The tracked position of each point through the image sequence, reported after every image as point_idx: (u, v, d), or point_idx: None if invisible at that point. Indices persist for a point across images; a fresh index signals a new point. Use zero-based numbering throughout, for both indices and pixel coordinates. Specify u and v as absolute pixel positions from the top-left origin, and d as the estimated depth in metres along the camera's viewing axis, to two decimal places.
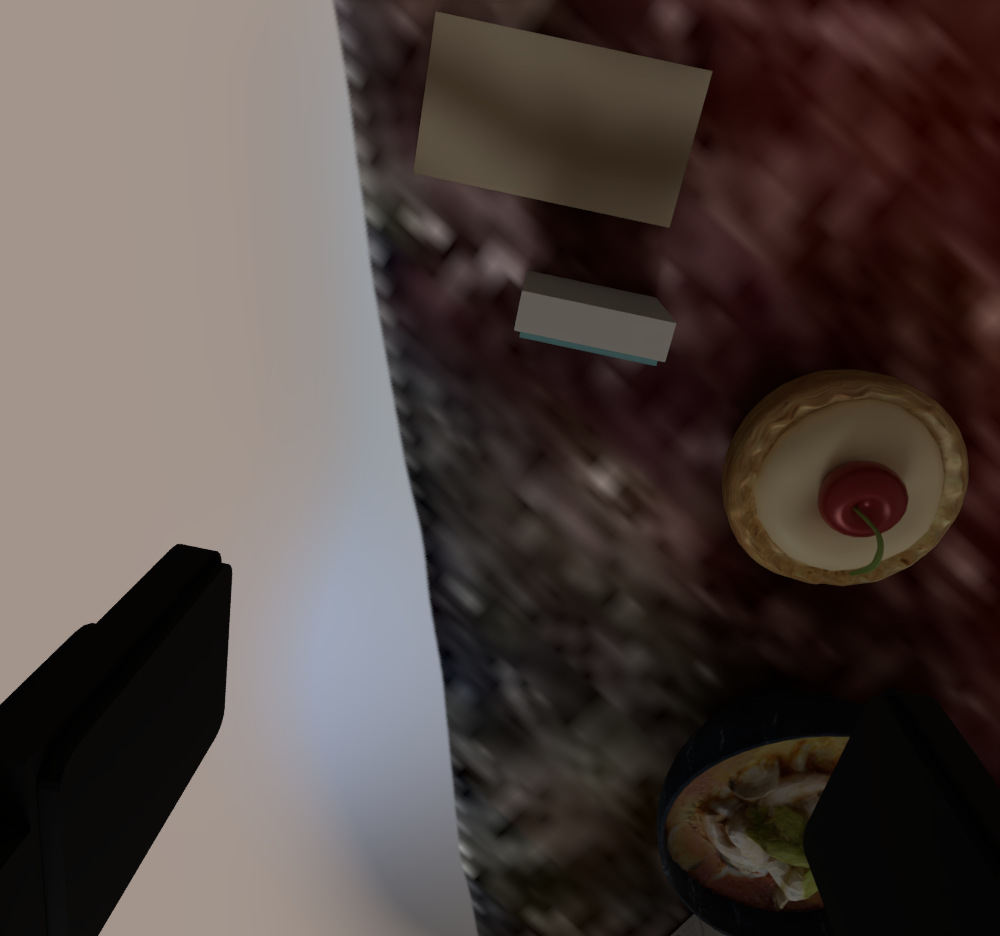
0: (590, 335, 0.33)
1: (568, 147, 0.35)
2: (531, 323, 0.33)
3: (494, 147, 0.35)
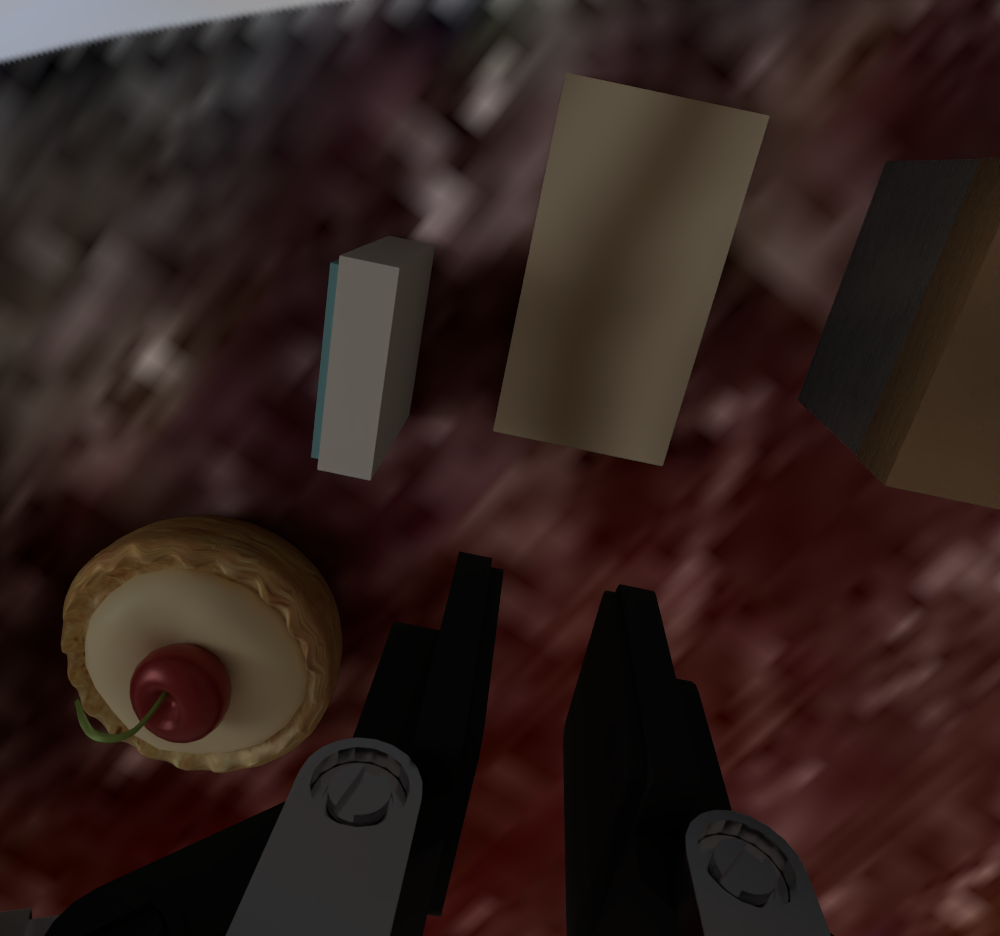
0: (343, 369, 0.23)
1: (590, 303, 0.27)
2: (352, 282, 0.22)
3: (594, 201, 0.26)
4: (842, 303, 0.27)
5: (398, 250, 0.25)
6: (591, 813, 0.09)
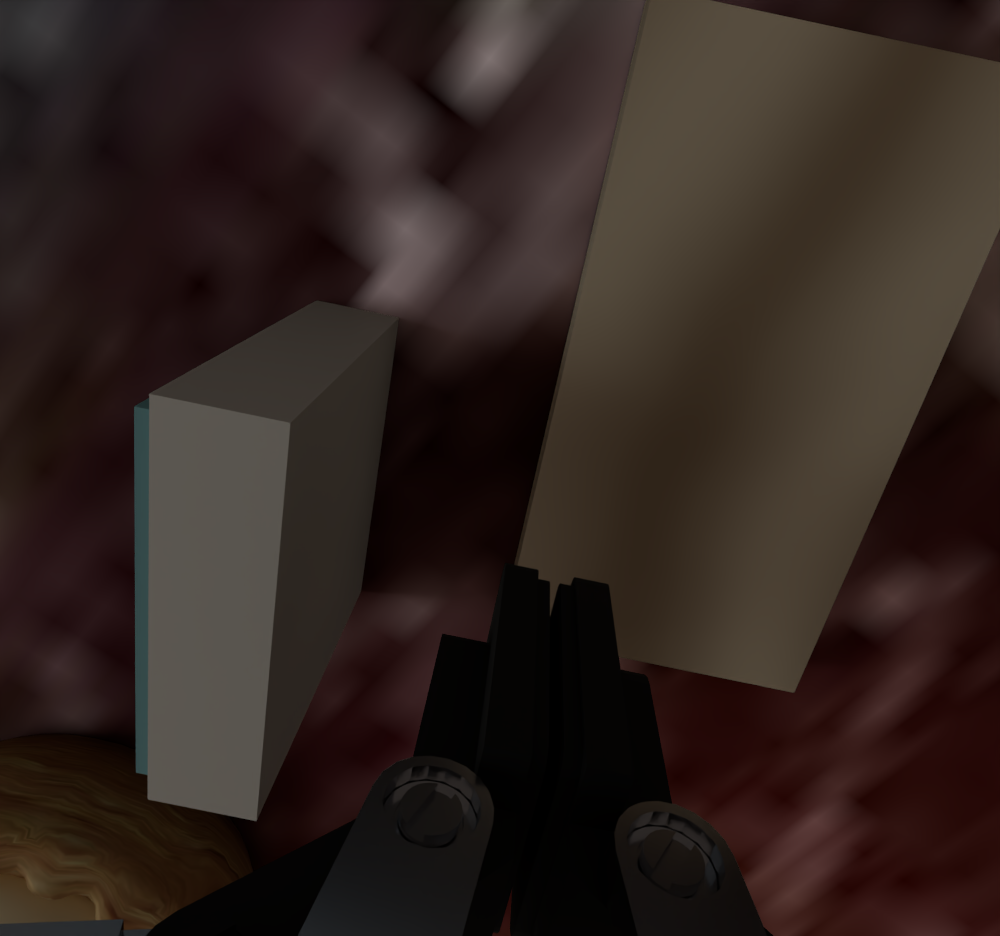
0: (181, 625, 0.10)
1: (681, 428, 0.15)
2: (184, 453, 0.09)
3: (699, 244, 0.13)
4: None
5: (317, 346, 0.12)
6: None
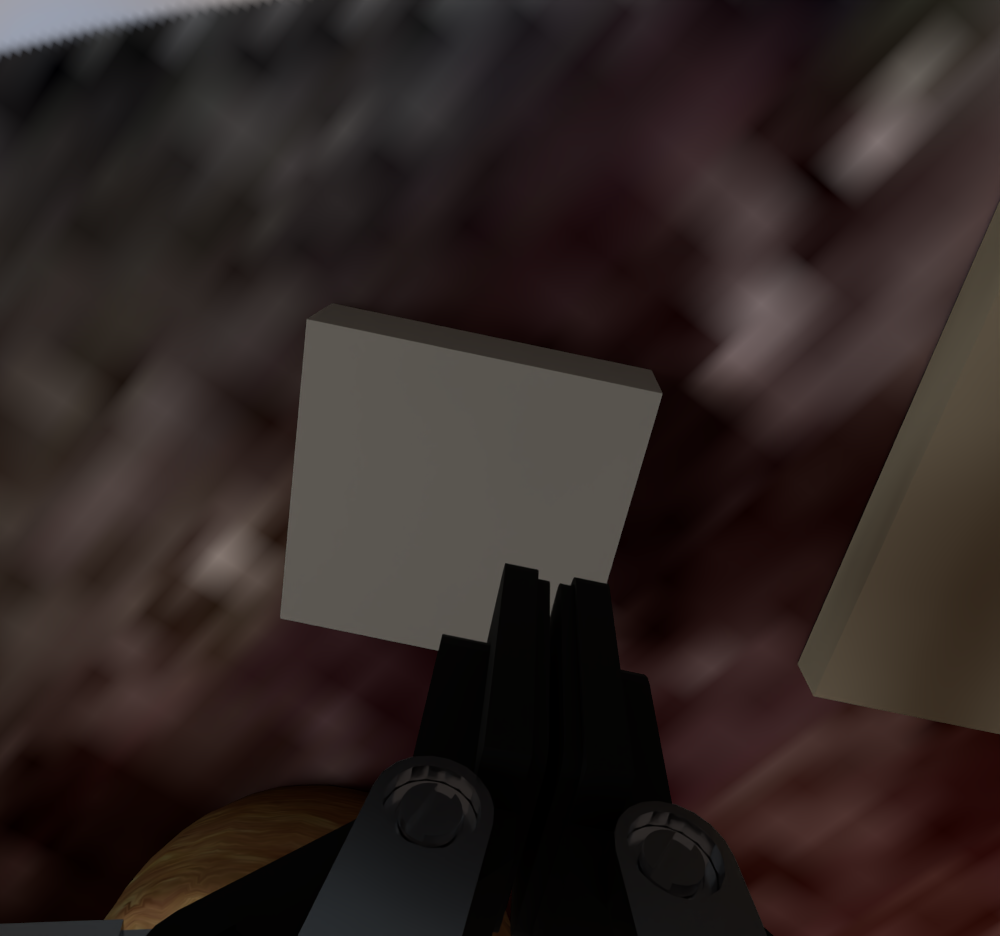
0: None
1: None
2: None
3: None
4: None
5: (490, 348, 0.15)
6: None
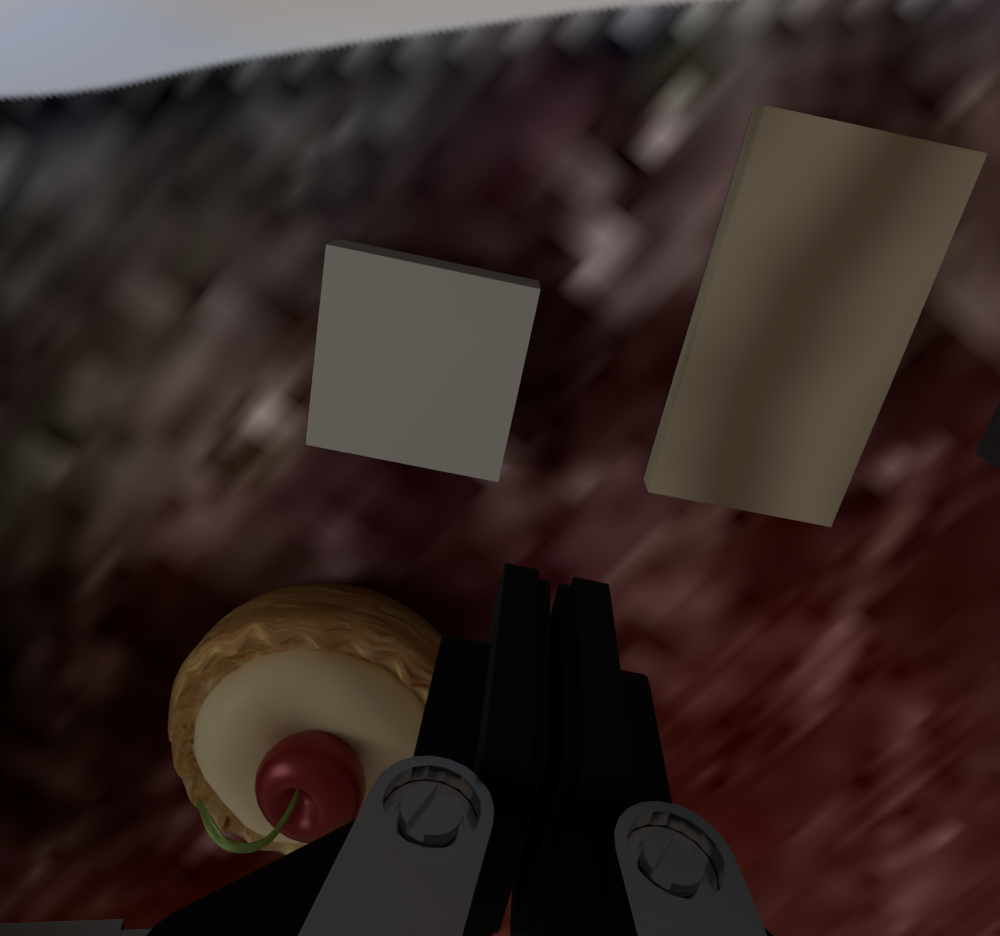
0: None
1: (768, 355, 0.25)
2: None
3: (784, 245, 0.23)
4: None
5: (438, 264, 0.24)
6: None
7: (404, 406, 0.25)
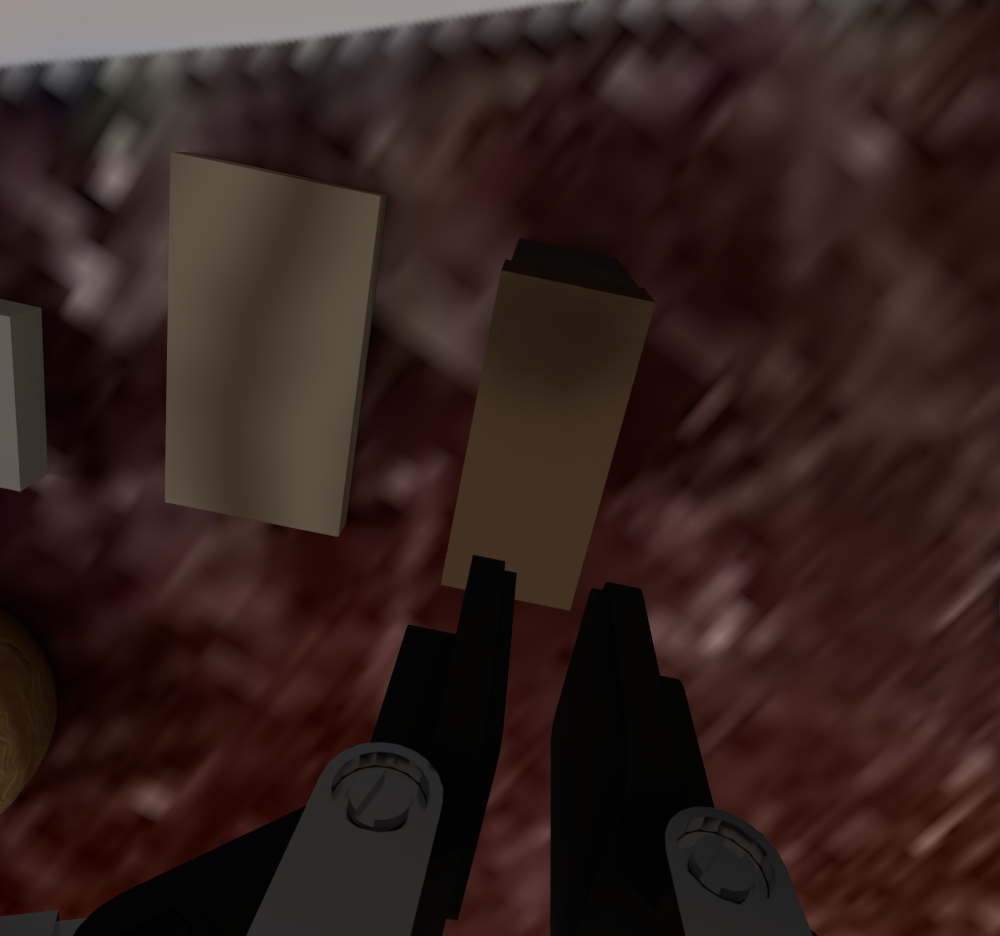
0: None
1: (237, 377, 0.27)
2: None
3: (223, 278, 0.25)
4: None
5: None
6: (575, 810, 0.09)
7: None
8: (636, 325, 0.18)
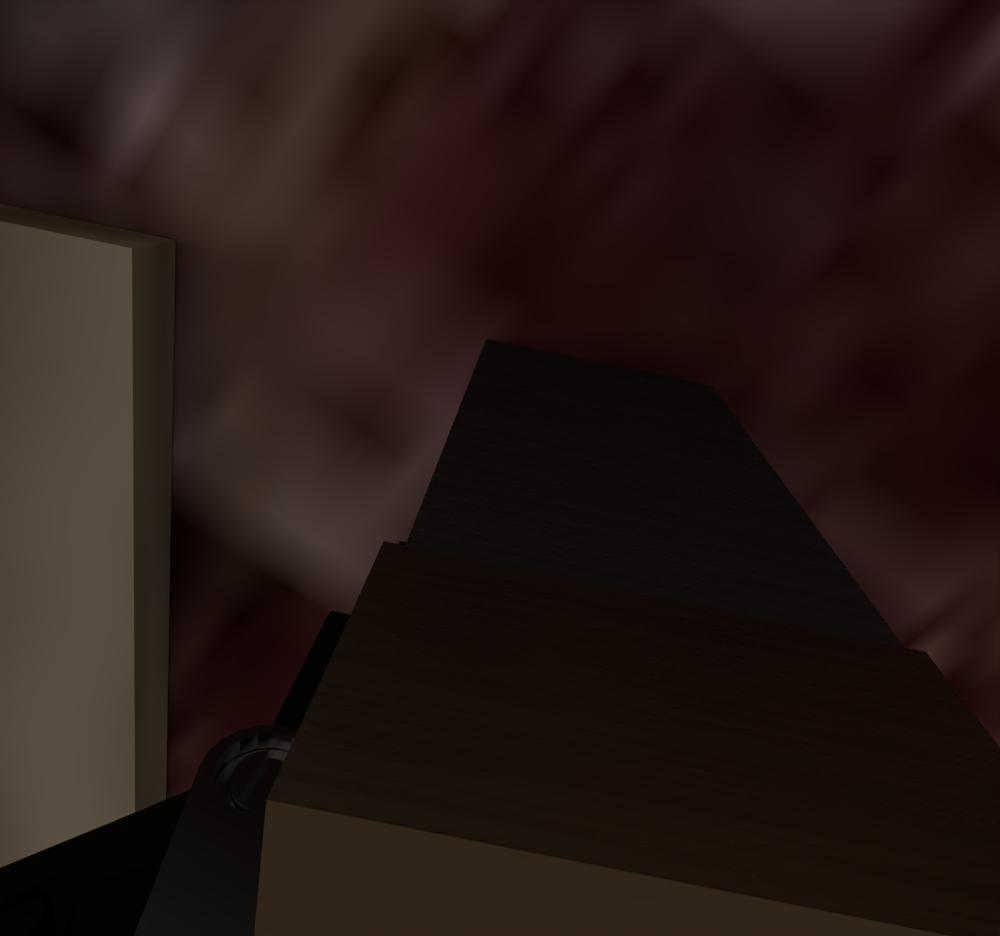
0: None
1: None
2: None
3: None
4: None
5: None
6: None
7: None
8: None
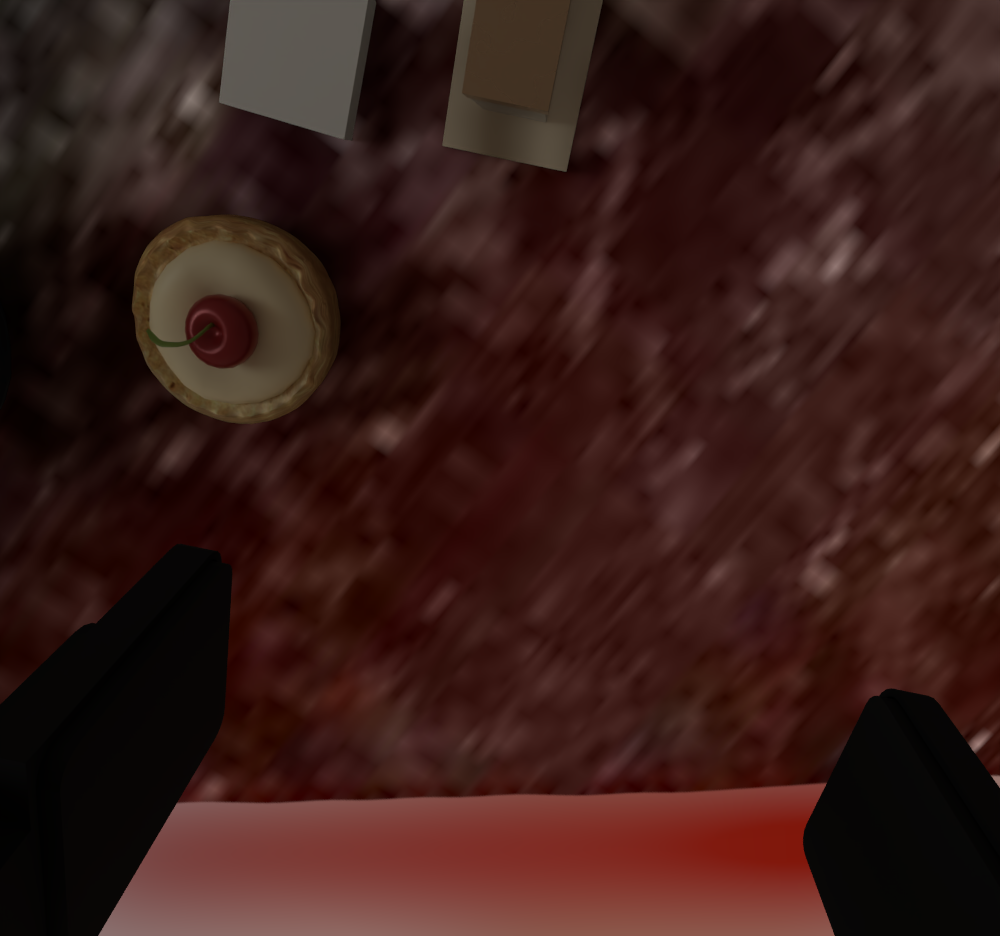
0: None
1: None
2: None
3: None
4: None
5: None
6: None
7: (283, 77, 0.39)
8: None
